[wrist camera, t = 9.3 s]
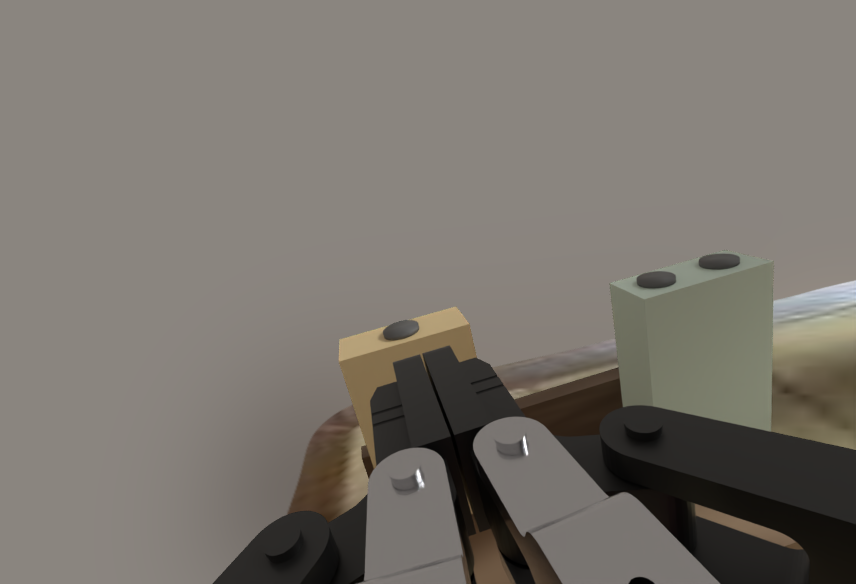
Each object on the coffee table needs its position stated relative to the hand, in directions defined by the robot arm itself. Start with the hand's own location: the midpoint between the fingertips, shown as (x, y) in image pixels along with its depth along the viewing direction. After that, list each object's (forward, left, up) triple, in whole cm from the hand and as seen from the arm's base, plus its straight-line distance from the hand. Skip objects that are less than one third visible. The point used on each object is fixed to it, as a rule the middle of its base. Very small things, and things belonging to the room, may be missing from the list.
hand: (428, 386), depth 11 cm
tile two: (-18, +1, -16) cm, 24 cm away
